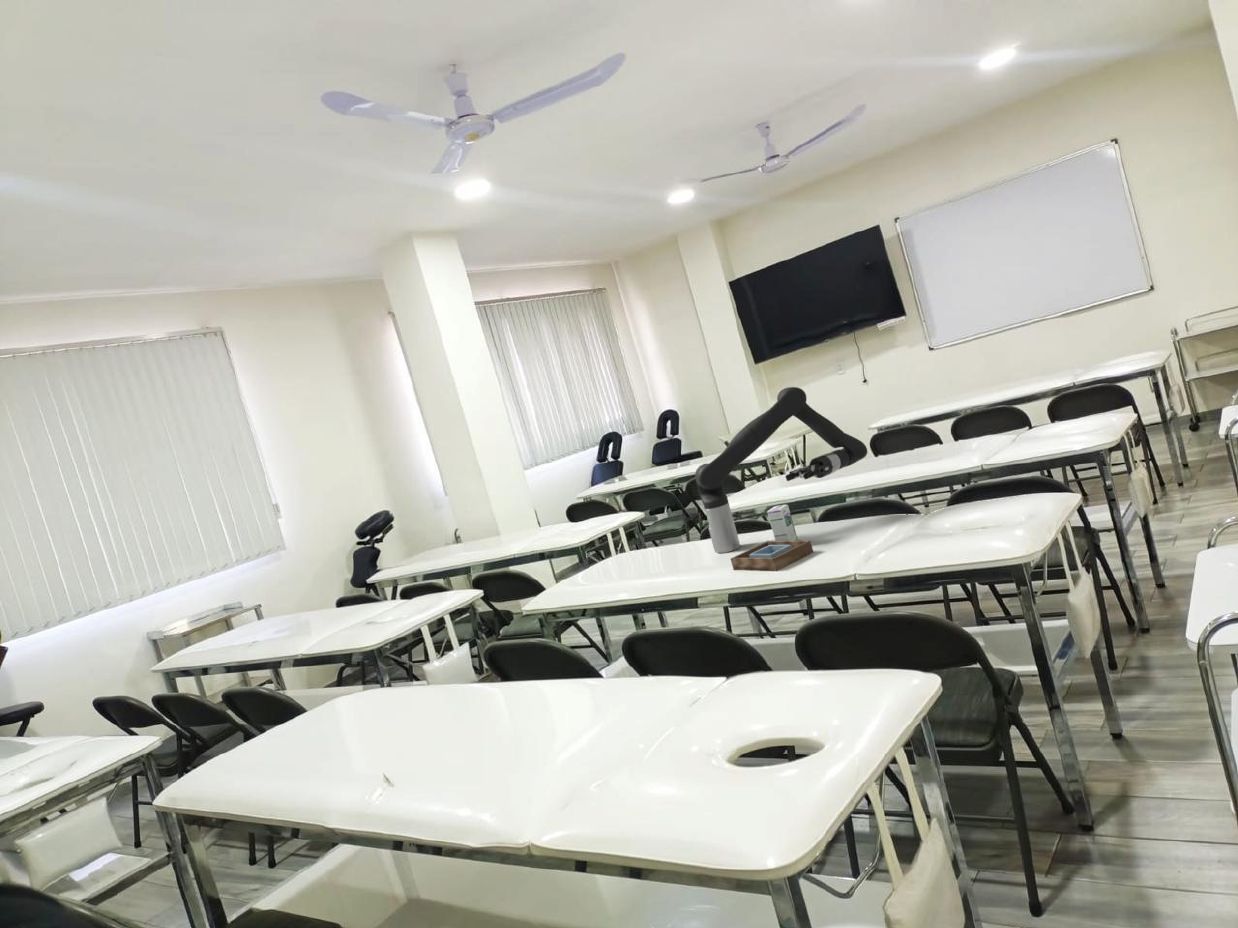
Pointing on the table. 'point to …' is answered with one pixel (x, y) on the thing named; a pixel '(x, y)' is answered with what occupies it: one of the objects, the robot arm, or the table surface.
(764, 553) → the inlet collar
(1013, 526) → the table surface
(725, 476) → the robot arm
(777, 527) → the syrup box
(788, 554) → the walnut tray
